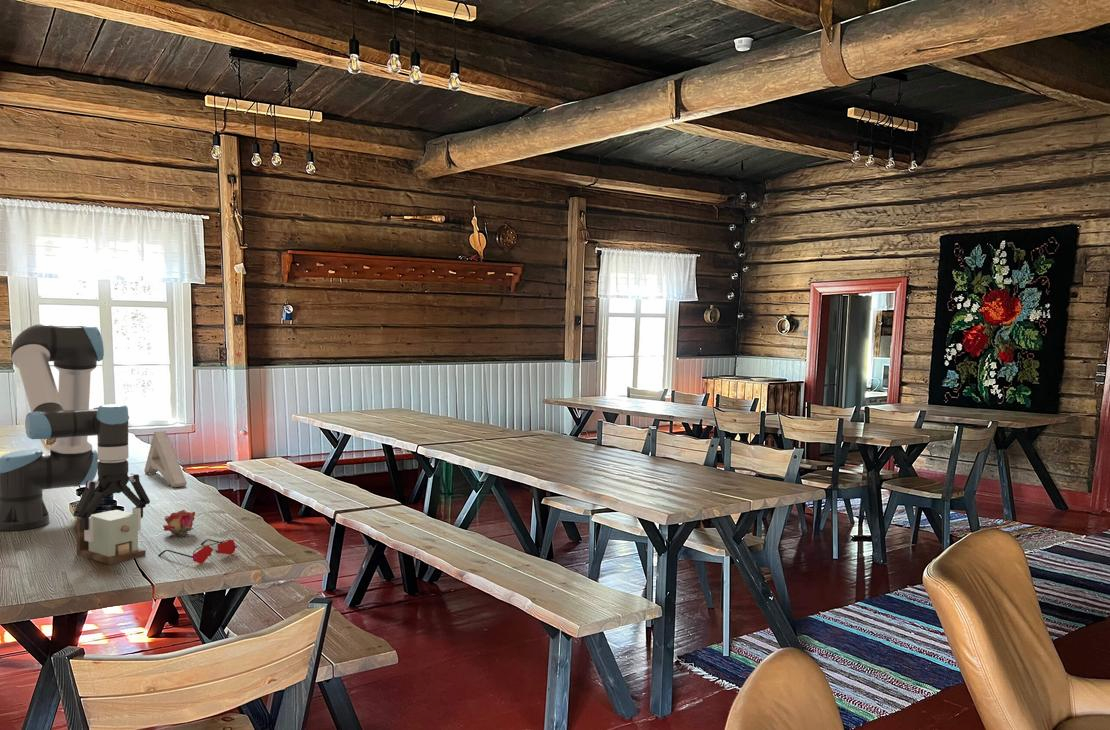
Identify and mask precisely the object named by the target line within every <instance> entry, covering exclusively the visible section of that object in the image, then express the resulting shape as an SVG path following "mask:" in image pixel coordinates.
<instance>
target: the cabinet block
mask: <svg viewBox="0 0 1110 730" xmlns="http://www.w3.org/2000/svg"><path fill="white" fill-rule="evenodd" d="M107 511H108V512H107ZM107 511H103V513H102V512H97V513H98V514H97V513H92V514H93V515H92V514H91V516H90V517H91V518H93V542H89V551H91V552H95V553H98V554H102V555H105V556H108V557H111V556H115V545H116V544H120V543H125V542H127V543H129V550H130V551H135V550H138V548H139V540H138V539H139V538H138V537H139V536H138V535H139V531H138V515H137V514H133V512H128V511H125V510H120V509H114V510H107Z"/></svg>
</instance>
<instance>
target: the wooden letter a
mask: <svg viewBox="0 0 1110 730" xmlns="http://www.w3.org/2000/svg"><path fill="white" fill-rule="evenodd" d="M176 455H177V454H176V453H175V450H174V449H173V446H172V443H171V441H170V438H169V437H168V434H167V431H154V432H153V436H152V439H151V444H150V448H149V452H148V455H147V459H146V464H145V467H144V474H145V475H150V474H149V473H152V474H157V473H158V472H159V473H160V474H161V475H162V476H163V478H164V480H165V482H166V484H167V485H171V486H172V487H171V486H170V487H171V488H178V487H179V488H180V487H181V488H182V487H187V483H188V482H187V479H186V477H185V475H184V473H183V470H182V468H181V466H180V463H179V462H180V461H178V457H177V456H176ZM156 472H157V473H156Z"/></svg>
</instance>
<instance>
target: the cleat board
mask: <svg viewBox="0 0 1110 730" xmlns="http://www.w3.org/2000/svg"><path fill="white" fill-rule="evenodd" d="M108 511H109V510H107V511H106V512H108ZM103 512H104V511H103ZM103 512H101V513H103ZM98 513H99V512H97V513H96V514H98ZM93 514H94V513H92V514H91V515H93ZM76 555H77V556H81V557H84V558H87V559H90V560H95V561H98V562H100V563H104V564H107V565H114V564H119V563H122V562H126V561H130V560H134V559H136V558H141V557H145V556H146V549H142V548H140V547H138V550H135V551H130V550H129V543H127V542H125V543H120V544H116V545H115V556H111V557H108V556H105V555H102V554H98V553H95V552H91V551H89V542H88V541H85V540H84V530H82V528H81V518H80V517H76Z"/></svg>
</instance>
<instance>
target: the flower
mask: <svg viewBox="0 0 1110 730" xmlns="http://www.w3.org/2000/svg"><path fill="white" fill-rule="evenodd" d="M195 515H196V512H195V511H192V512H191V511H187V510H185V509H183V510H179V511H177V512H171V514H170V515H165V516H164V520H165V522H166V524H165V525H163V526H162V528H163V531H165V532H167V531H169V532H171V535H180V534H181V535H182V537H183V538H184V537H186V534H188V532H191V531H192V530H194V529H195V528H196V527H198V526H199V525H196V526H195V527H193V524H194V521H195Z"/></svg>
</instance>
